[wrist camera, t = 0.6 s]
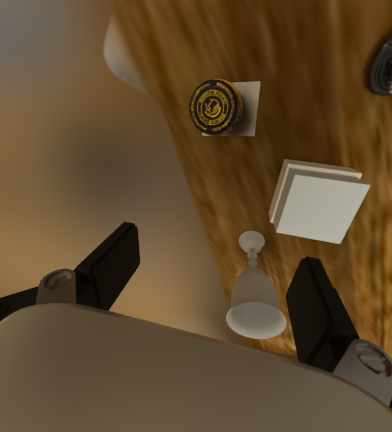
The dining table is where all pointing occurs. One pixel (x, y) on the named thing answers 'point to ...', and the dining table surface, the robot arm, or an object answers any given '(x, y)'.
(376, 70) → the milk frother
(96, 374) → the robot arm
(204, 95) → the condiment
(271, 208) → the tower base
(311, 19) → the dining table surface
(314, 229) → the tower top
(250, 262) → the chalice
